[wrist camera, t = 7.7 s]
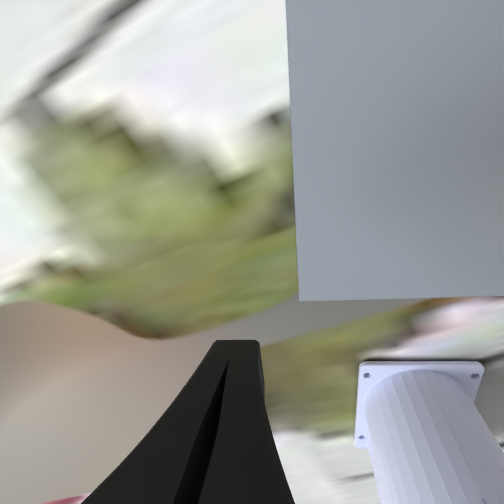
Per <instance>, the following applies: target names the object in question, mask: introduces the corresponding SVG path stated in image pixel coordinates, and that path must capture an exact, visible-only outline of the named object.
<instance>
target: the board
mask: <svg viewBox="0 0 504 504" xmlns="http://www.w3.org/2000/svg"><path fill="white" fill-rule="evenodd" d="M286 20H287V42H288V64H289V86H290V108H291V130H292V152H293V174H294V196H295V218H296V241H297V263H298V285H299V301H321V300H322V301H324V300H359V299H360V300H362V299H400V298H438V297H477V296H504V0H286Z"/></svg>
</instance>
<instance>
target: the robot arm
mask: <svg viewBox="0 0 504 504" xmlns="http://www.w3.org/2000/svg"><path fill="white" fill-rule="evenodd" d="M484 370H485V368H484V367H483V365H482V364H481V363H480V362H477V361H366V362H362V363H361V364H360V366H359V377H358V392H357V407H356V422H355V436H354V442H355V446H356V447H358V448H366V449H368V450H369V454H370V459H371V463H372V468H373V472H374V476H375V481H376V485H377V490H378V494H379V499H380V503H381V504H504V453H503V451H502V449H501V448H500V446H499V444H498V443H497V441H496V439H495V438H494V436H493V434H492V433H491V431H490V429H489V428H488V426H487V424H486V423H485V421H484V419H483V417H482V416H481V414H480V412H479V411H478V409H477V407H476V406H475V404H474V402H475V399H476V396H477V392H478V389H479V386H480V383H481V380H482V377H483V373H484ZM365 373H367V374H365ZM81 504H295V503H294V500H293V497H292V494H291V491H290V488H289V485H288V483H287V480H286V477H285V474H284V471H283V468H282V465H281V461H280V458H279V455H278V452H277V449H276V445H275V442H274V438H273V435H272V431H271V427H270V424H269V420H268V416H267V412H266V408H265V400H264V376H263V368H262V360H261V352H260V344H259V342H258V341H256V340H216V341H215V342H214V343H213V345H212V346H211V348H210V349H209V351H208V352H207V354H206V356H205V357H204V359H203V360H202V362H201V363H200V365H199V366H198V368H197V369H196V370H195V372H194V373H193V375H192V376H191V378H190V379H189V380H188V382H187V383H186V385H185V386H184V387H183V389H182V390H181V392H180V393H179V395H178V396H177V397H176V398H175V400H174V401H173V402H172V404H171V405H170V406H169V408H168V409H167V410H166V411H165V413H164V414H163V415H162V416H161V417H160V419H159V420H158V421H157V422H156V424H155V425H154V426H153V427H152V429H151V430H150V431H149V433H148V434H146V436H145V437H144V438H143V439H142V440H141V441H140V443H139V444H138V445H137V446H136V447H135V448H134V449H133V451H132V452H131V453H130V454H129V455H128V456H127V457H126V458H125V459H124V460H123V462H121V464H120V465H119V466H118V467H117V468H116V469H115V470H114V471H113V472H112V473H111V474H110V475H109V476H108V477H107V478H106V479H105V480H104V481H103V482H102V483H101V484H100V485H99V486H98V487H97V488H96V489H95V490H94V491H93V492H92V493H91V494H90V495H89V496H88V497H87V498H86V499H85V500H84V501H83V502H82V503H81Z"/></svg>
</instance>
